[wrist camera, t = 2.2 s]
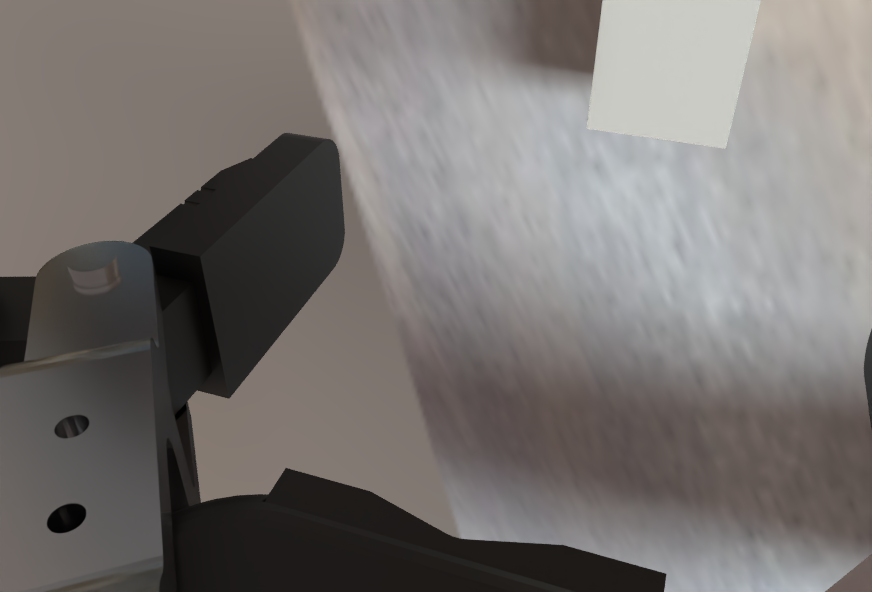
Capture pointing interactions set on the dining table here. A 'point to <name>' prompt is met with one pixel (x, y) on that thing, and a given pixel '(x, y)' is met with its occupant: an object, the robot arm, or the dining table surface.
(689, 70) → the bar
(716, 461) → the dining table surface
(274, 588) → the robot arm
